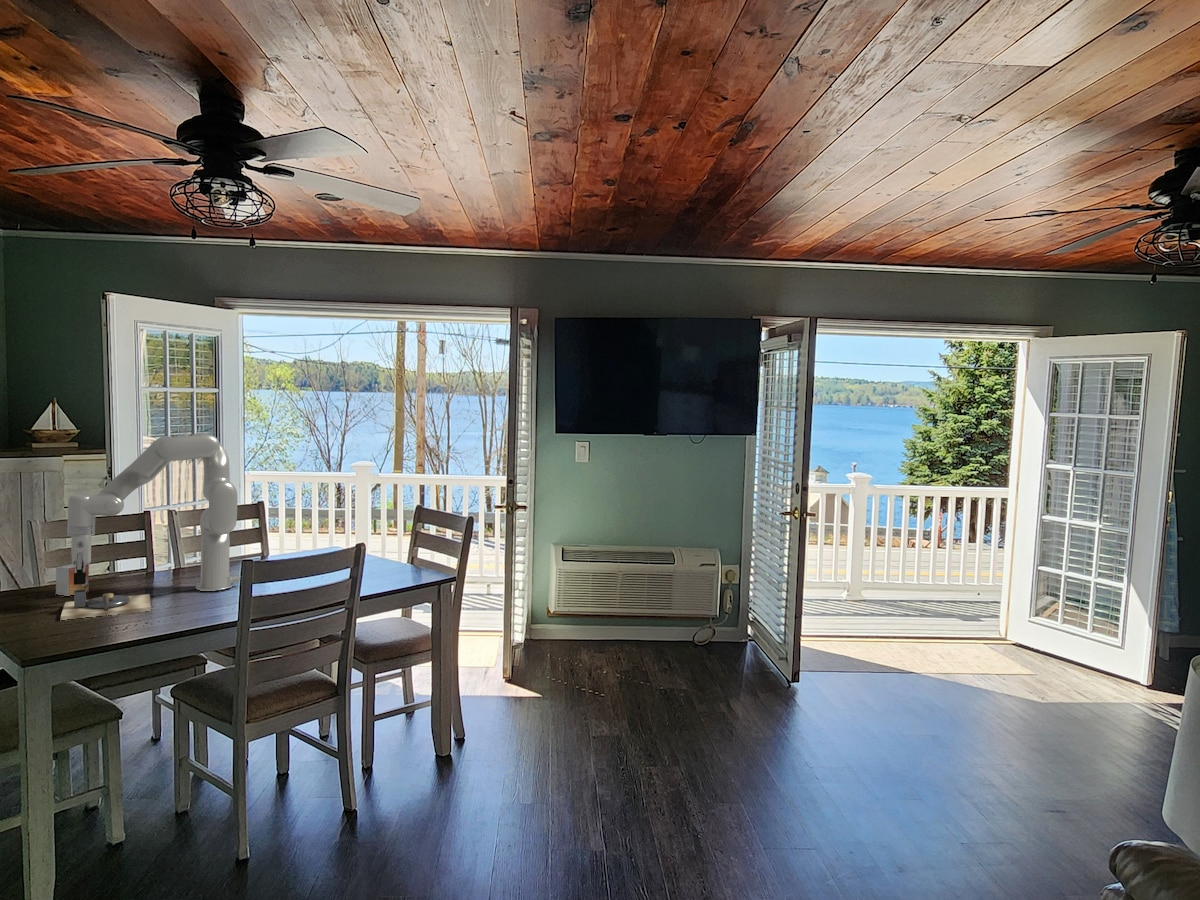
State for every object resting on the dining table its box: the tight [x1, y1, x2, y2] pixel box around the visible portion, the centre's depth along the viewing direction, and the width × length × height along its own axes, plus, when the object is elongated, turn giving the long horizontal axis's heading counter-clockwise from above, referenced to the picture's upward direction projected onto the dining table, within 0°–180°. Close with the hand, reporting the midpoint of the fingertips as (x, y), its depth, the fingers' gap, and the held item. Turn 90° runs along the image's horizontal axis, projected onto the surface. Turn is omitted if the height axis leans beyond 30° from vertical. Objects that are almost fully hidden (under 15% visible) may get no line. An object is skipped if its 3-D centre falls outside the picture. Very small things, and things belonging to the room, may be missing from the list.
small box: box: [55, 563, 90, 597], centre depth 247 cm, size 8×6×10 cm
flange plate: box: [73, 589, 129, 608], centre depth 231 cm, size 15×12×5 cm
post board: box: [60, 592, 152, 621], centre depth 232 cm, size 24×18×6 cm
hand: (79, 583), depth 233 cm, fingers closed
